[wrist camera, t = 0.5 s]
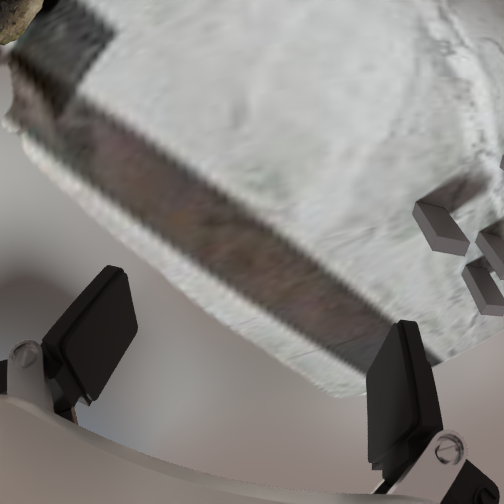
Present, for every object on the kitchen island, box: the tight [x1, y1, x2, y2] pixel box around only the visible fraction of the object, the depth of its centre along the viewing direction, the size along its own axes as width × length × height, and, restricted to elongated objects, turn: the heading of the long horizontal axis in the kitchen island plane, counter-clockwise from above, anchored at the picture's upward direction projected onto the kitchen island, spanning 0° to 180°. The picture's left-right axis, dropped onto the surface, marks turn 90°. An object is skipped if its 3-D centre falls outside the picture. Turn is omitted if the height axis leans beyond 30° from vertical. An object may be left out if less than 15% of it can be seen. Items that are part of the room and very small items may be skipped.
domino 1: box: [412, 202, 470, 256], centre depth 36 cm, size 2×5×10 cm, turn 88°
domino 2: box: [475, 232, 504, 280], centre depth 35 cm, size 2×5×10 cm, turn 87°
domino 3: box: [461, 265, 504, 316], centre depth 39 cm, size 2×5×10 cm, turn 87°
